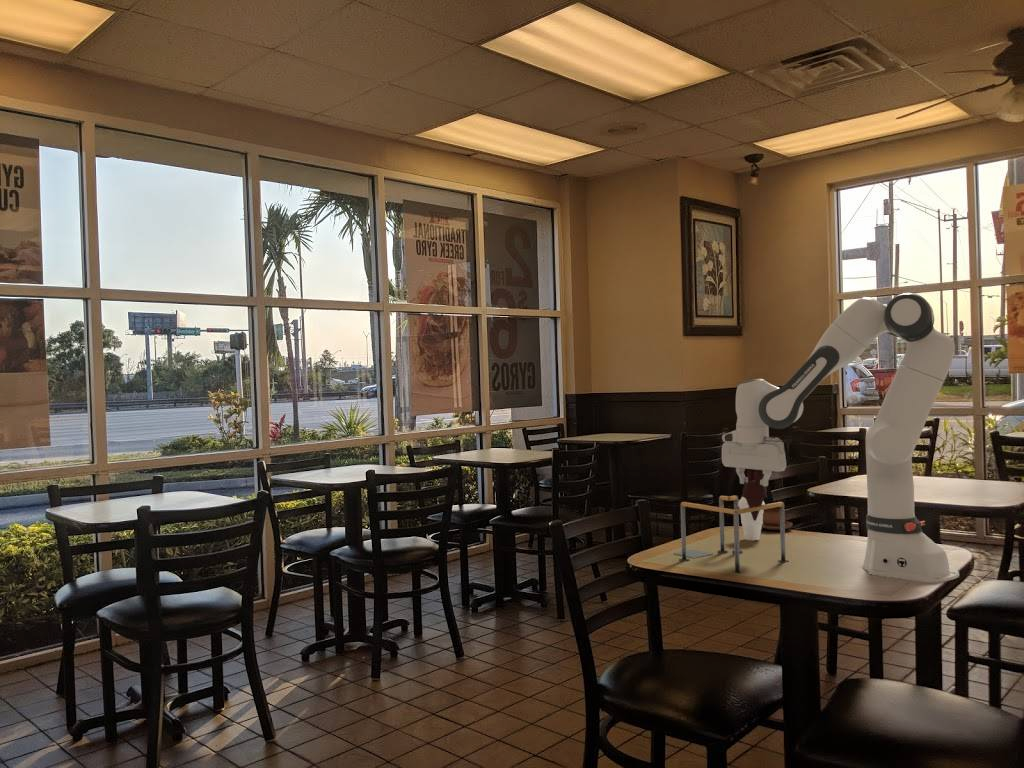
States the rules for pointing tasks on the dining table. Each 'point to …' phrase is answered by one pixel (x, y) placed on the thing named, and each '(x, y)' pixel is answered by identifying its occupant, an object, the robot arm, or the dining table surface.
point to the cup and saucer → (773, 519)
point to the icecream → (754, 491)
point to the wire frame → (736, 525)
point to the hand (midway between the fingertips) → (753, 484)
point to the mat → (694, 553)
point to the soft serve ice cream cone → (750, 522)
